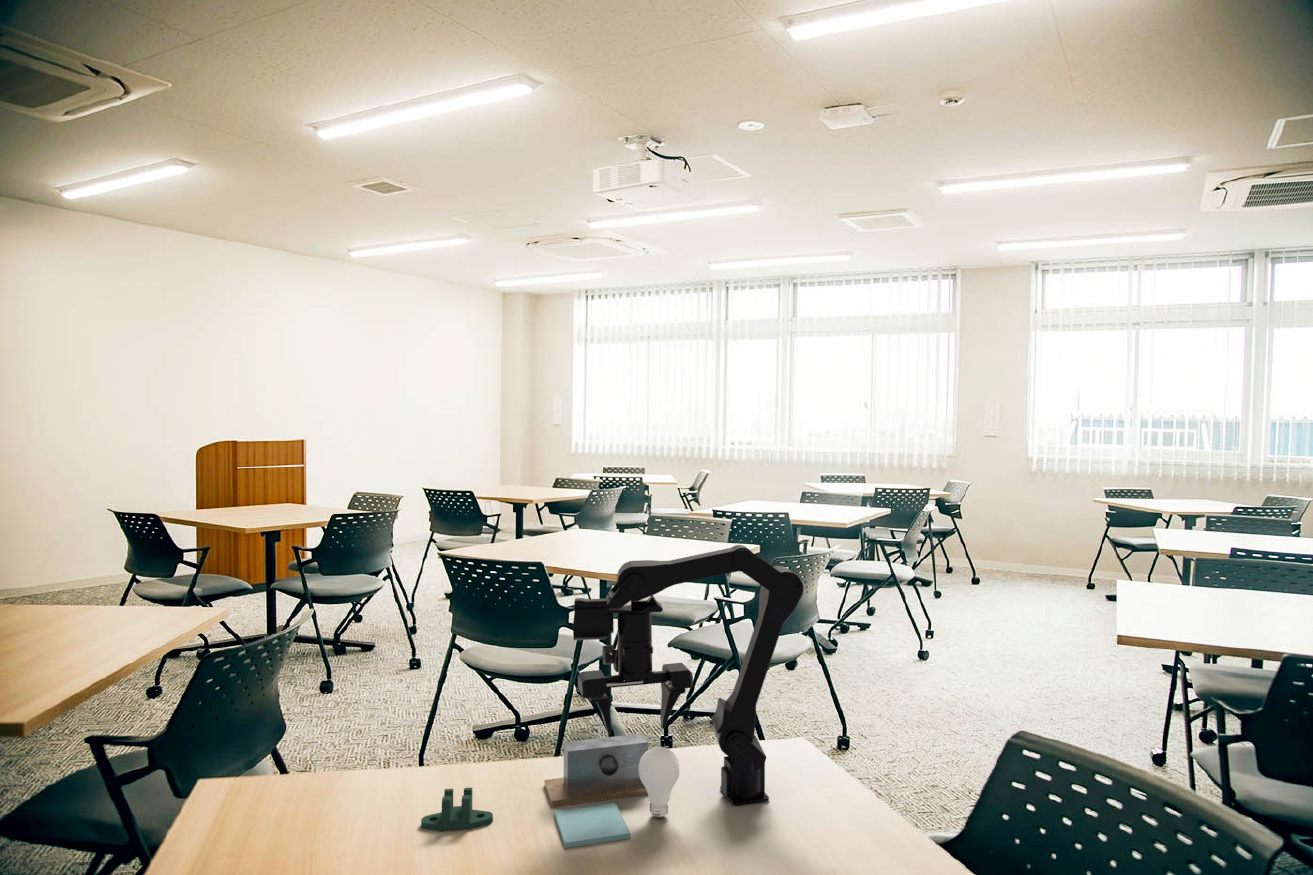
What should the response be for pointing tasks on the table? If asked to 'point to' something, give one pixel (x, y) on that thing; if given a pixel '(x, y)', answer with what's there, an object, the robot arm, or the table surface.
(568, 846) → the pad
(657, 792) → the light bulb
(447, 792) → the mount
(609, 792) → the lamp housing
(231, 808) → the table surface
